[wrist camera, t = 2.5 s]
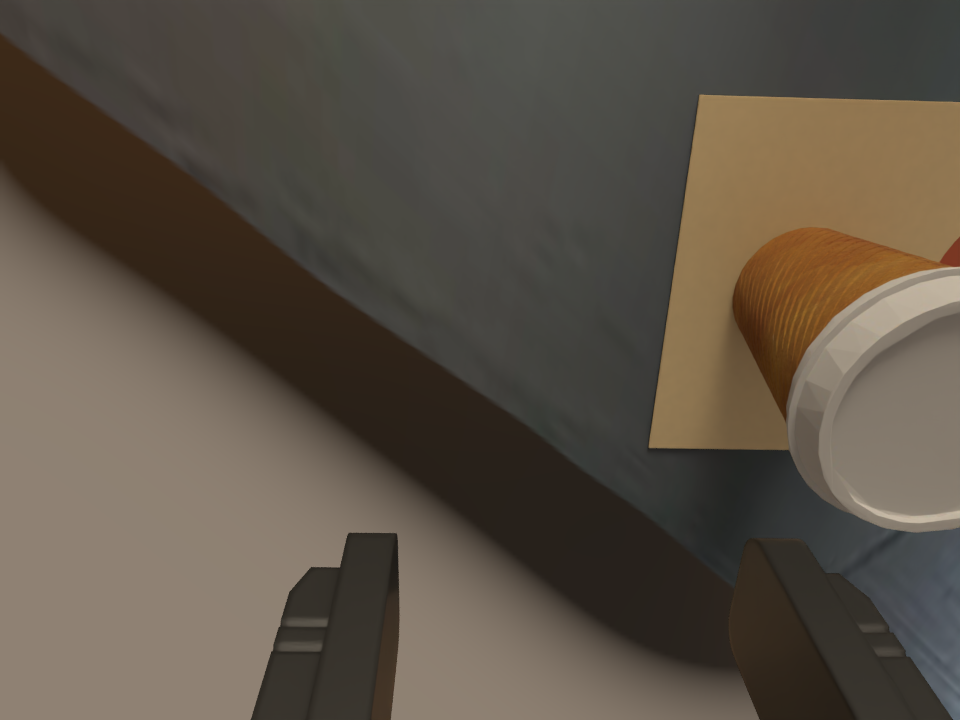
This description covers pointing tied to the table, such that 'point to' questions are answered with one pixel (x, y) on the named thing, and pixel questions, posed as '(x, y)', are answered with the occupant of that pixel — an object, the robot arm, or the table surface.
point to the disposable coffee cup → (861, 371)
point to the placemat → (782, 208)
